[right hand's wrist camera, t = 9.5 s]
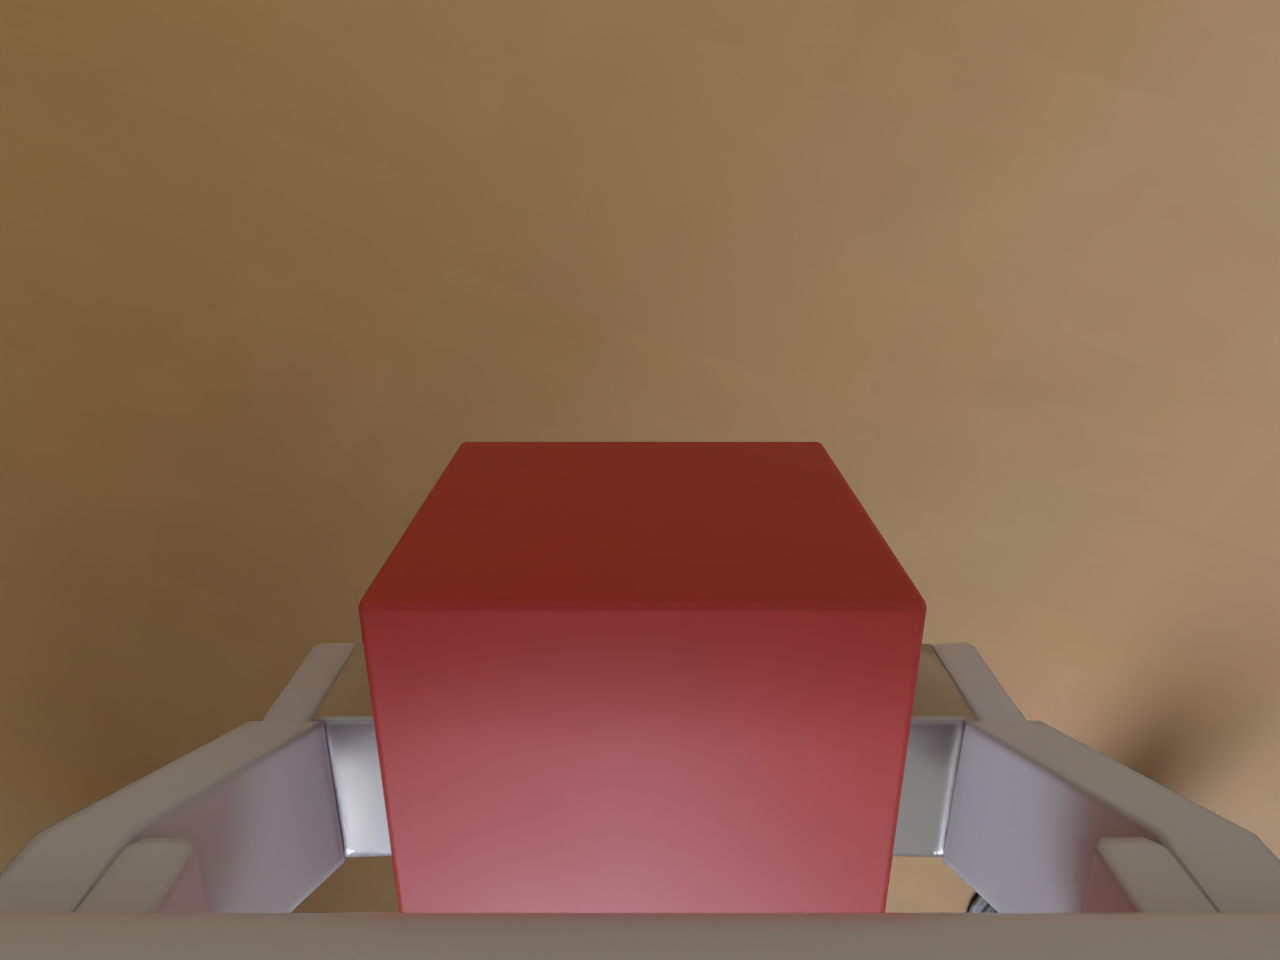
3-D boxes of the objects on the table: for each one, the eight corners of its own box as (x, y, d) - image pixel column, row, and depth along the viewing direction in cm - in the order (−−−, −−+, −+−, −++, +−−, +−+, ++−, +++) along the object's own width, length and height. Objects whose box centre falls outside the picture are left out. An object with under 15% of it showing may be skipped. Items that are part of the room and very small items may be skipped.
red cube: (821, 439, 11) (930, 602, 7) (797, 747, 13) (872, 1024, 9) (461, 440, 11) (354, 602, 7) (485, 747, 13) (411, 1024, 9)
